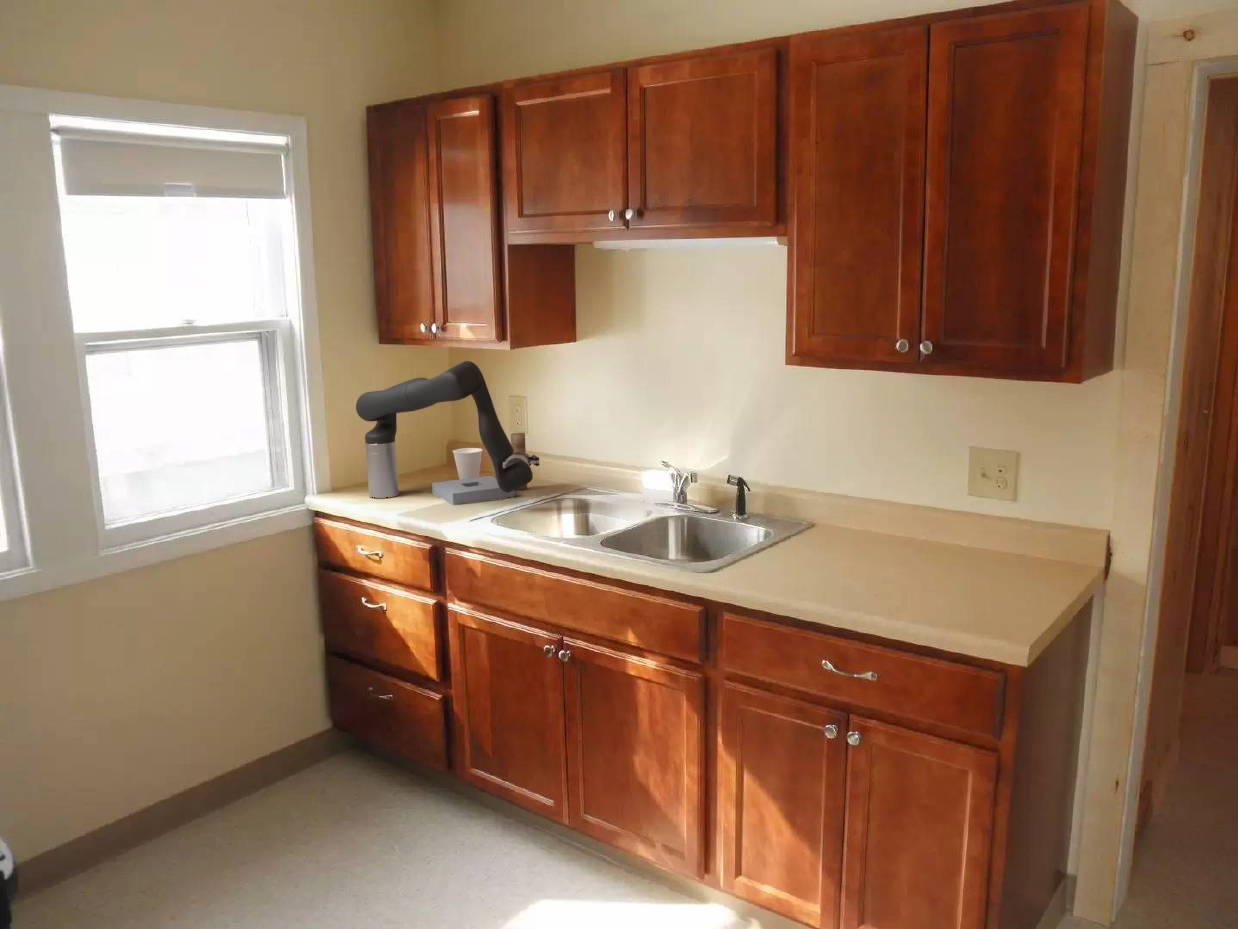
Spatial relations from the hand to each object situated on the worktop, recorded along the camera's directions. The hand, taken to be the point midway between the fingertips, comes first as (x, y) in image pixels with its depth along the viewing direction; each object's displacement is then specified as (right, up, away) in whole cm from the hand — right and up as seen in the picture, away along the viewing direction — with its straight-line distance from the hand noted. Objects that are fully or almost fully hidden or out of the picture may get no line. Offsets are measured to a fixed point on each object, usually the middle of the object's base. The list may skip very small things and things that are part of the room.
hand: (519, 457), depth 331 cm
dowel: (0, -10, -1) cm, 10 cm away
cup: (-18, -9, +12) cm, 23 cm away
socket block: (-14, -12, -8) cm, 20 cm away
